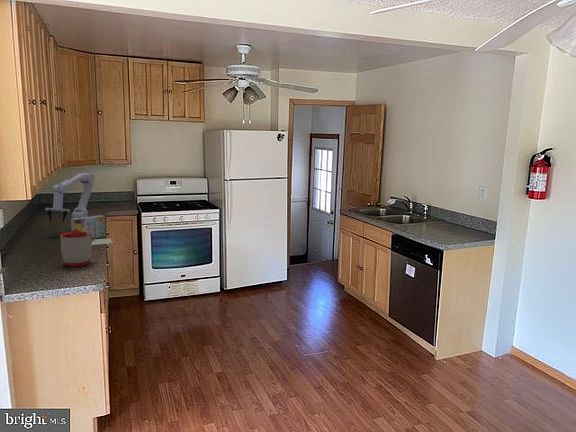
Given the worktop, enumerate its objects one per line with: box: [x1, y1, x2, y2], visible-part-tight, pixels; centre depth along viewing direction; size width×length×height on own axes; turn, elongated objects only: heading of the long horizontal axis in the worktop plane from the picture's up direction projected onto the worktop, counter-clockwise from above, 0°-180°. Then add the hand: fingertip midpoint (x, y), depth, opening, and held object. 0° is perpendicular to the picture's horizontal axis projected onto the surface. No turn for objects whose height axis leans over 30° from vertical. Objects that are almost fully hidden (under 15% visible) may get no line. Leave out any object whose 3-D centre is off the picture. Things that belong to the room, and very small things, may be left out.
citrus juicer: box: [59, 229, 94, 268], centre depth 246 cm, size 16×17×20 cm
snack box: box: [70, 215, 107, 239], centre depth 307 cm, size 21×6×15 cm, turn 141°
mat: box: [91, 238, 114, 246], centre depth 298 cm, size 16×26×1 cm, turn 118°
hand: (56, 221), depth 308 cm, fingers open, 7 cm apart
